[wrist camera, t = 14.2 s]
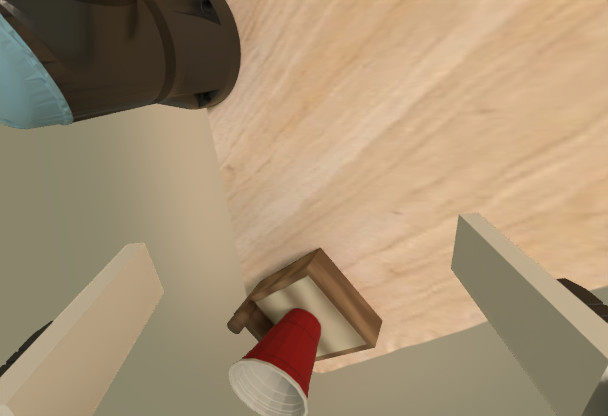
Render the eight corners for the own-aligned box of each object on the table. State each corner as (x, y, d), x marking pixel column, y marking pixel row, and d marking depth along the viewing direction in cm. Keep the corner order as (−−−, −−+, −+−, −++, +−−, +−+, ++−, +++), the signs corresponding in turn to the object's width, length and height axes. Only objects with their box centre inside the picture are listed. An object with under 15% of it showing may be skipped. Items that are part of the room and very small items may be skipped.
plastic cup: (353, 343, 43) (323, 429, 34) (301, 351, 50) (263, 426, 40) (310, 286, 42) (265, 359, 32) (261, 302, 48) (213, 367, 38)
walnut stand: (320, 247, 44) (290, 292, 37) (382, 320, 46) (366, 379, 38) (258, 282, 54) (224, 324, 46) (311, 341, 56) (286, 392, 48)
